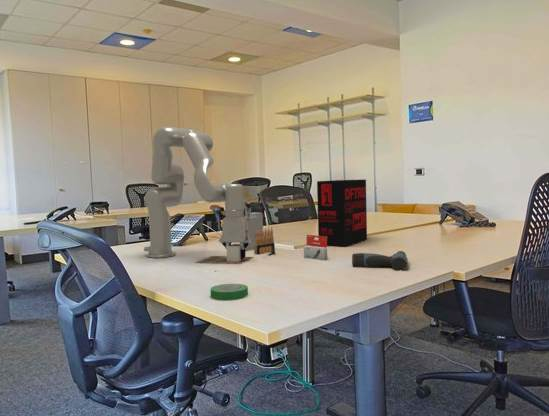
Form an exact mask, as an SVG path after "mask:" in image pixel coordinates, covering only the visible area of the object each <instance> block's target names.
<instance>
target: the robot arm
mask: <svg viewBox="0 0 549 416" xmlns="http://www.w3.org/2000/svg"><path fill="white" fill-rule="evenodd" d="M171 147H172V148H173V147H174V148H175V147H176V148H183V149H184V150H185V152H186V154H187V156H188V158H189V159H190V161H191V163H192V165H193V167H194V174H193V181H194V185H195V188H196V189H197V192H198V194H199V195H200V198H201V199H202V200H203V201H204V202H206V203H221V202H224V208H225V209H224V211H222V215H223V216H224V217H223V219H222V227H221V237H220V238H219V239H218V242H219V243H220V244H221V245H223V246H224V248H225V249H226V247H227V246H230V245H232V243H233V244H240V246H241V250H240V254H241V259H244V258H245V257H247V255H246V250H245V248H246V247H247V246H248V245H249V244H250V243H252V242H253V240H252V238H251V237H250V236H249V235H248V227H247V222H246V218H245V208H244V202H245V201H244V186H243V184H241V183H211V181H210V177H208V173H207V170H208V169H209V168H211V166H212V165H213V163H214V159H213V157H212V155H211V153H210V151H211V150H212V149H213V147H214V141H213V139H212V137H211V135H210V134H208V133H206V132H201V131H198V130H193V129H191V128H184V127H176V126H164V127H163V126H162V127H160V128H159V129H157V130H156V131H155V133H154V134H153V140H152V148H153V155H152V166H151V181H152V183H154V184H156V185H163V186H158V187H156V186H155V187H152V188H149V189H148V190H147V191H146V193H145V202H146V203H145V204H146V207H147V212H148V213H147V214H148V221H149V222H148V223H149V224H148V225H149V244H150V245H149V246H144V248H143V251H144V252H148V253H147V255H146V256H147V258H153V259H157V258H160V259H161V258H169V257H173V256H175V255H176V251H173V247H172V229H171V226H172V225H171V216H170V212H169V210H168V209H167V208H172V207H177V206H179V205H180V203H181V201H182V200H183V199H182V198H183V192H184V183H185V171H184V169H183V167H182V166H181V165H180V164H177V163H173V150H172V149H171ZM165 185H167V186H165ZM247 240H248V242H247V243H245V241H247Z"/></svg>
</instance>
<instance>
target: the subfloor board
mask: <svg viewBox="0 0 549 416" xmlns="http://www.w3.org/2000/svg"><path fill="white" fill-rule="evenodd" d="M253 258H255V256H245V259H243V260H241V261H239V262H227V255H226V256H225V255H223V256H222V255H210V256H208V257H206V258H202V259H200V260H198V261H195V262H194V264H213V265H214V264H219V265H243V264H244V263H246V262H248V261H250V260H252V259H253Z"/></svg>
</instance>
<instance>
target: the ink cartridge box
mask: <svg viewBox="0 0 549 416" xmlns="http://www.w3.org/2000/svg"><path fill="white" fill-rule="evenodd" d="M315 238H317V239H315ZM318 238H319V239H320V240H319V239H318ZM303 258H304V259H309V260H319V261H328V260H329V259H328V246H327V236H318V235H315V234H314V235H313V234H306V245H304V246H303Z"/></svg>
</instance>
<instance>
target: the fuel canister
mask: <svg viewBox="0 0 549 416" xmlns="http://www.w3.org/2000/svg"><path fill="white" fill-rule="evenodd" d="M244 217H245V218H246V222H247V227H248V235H249V236H250V237H251V238H252V240H253V242H252V243H250V244H249V245H248V246H247V247H246V248H245V251H252V250H254V245H255V232H256V230H257V232H259V229H260V231H261V232H262V229H263V230H264V223H263V222H264V221H263V220H264V218H263V217H264V215H263V213H262V212H249V211H248V209H247V205H246V203H245V201H244ZM247 242H248V240H247V241H245V243H247Z"/></svg>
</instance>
